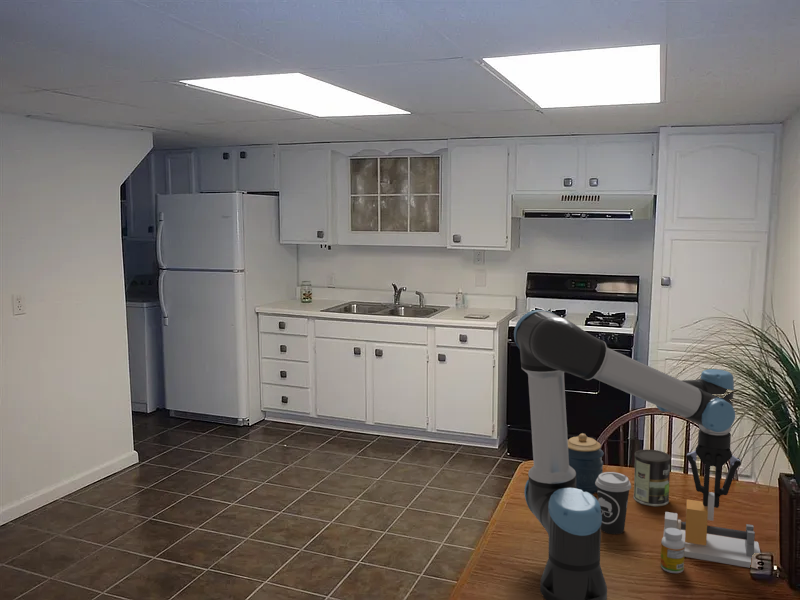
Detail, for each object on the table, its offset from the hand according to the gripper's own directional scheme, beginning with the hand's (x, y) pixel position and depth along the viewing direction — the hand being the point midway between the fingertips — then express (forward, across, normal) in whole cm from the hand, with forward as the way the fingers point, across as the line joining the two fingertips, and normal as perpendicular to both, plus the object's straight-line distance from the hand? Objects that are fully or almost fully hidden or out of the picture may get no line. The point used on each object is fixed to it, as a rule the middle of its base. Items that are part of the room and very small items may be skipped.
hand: (710, 518), depth 178 cm
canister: (+9, +37, -29) cm, 48 cm away
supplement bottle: (+9, +8, +13) cm, 18 cm away
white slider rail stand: (+9, 0, 0) cm, 9 cm away
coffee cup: (+9, +25, -3) cm, 26 cm away
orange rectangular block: (+6, +3, 0) cm, 7 cm away
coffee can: (+9, +16, -27) cm, 33 cm away
